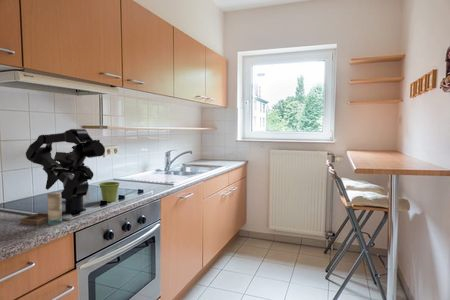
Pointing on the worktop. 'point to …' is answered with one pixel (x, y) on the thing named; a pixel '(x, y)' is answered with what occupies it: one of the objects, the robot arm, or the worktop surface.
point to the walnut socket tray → (35, 219)
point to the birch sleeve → (54, 209)
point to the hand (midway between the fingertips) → (57, 189)
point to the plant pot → (109, 191)
